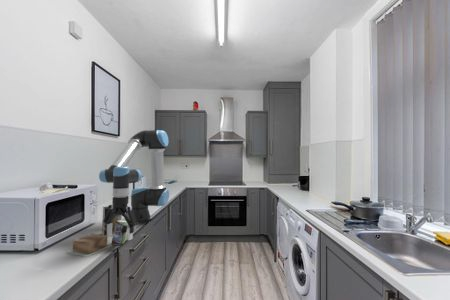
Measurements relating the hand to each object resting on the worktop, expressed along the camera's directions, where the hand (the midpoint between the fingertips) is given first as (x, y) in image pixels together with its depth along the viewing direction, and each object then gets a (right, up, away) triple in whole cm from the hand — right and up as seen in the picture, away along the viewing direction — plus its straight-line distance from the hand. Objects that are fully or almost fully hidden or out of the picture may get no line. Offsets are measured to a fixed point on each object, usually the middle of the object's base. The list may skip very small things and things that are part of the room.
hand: (119, 237), depth 111 cm
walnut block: (-11, -2, -7) cm, 13 cm away
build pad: (-11, -3, -7) cm, 13 cm away
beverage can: (0, -4, 0) cm, 4 cm away
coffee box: (-12, -4, +15) cm, 19 cm away
